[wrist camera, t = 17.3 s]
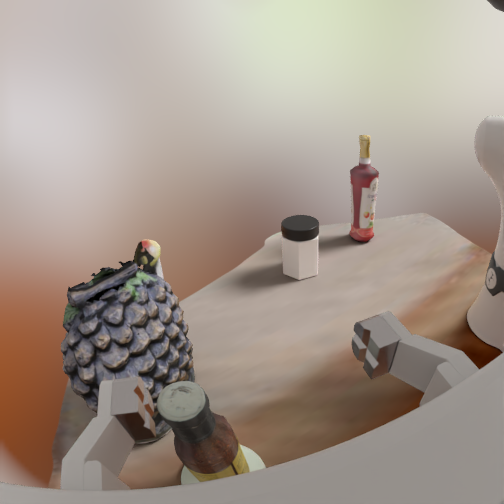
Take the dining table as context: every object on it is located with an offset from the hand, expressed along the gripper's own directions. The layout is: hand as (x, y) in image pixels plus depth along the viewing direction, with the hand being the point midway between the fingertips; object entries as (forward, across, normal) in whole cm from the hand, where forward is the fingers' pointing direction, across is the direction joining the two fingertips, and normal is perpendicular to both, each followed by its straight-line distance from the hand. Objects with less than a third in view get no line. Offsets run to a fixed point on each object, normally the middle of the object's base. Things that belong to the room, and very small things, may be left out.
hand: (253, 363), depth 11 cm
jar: (+51, -22, +32) cm, 64 cm away
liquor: (+58, -43, +32) cm, 79 cm away
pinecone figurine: (+24, +13, +32) cm, 42 cm away
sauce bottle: (+8, +4, +31) cm, 32 cm away
